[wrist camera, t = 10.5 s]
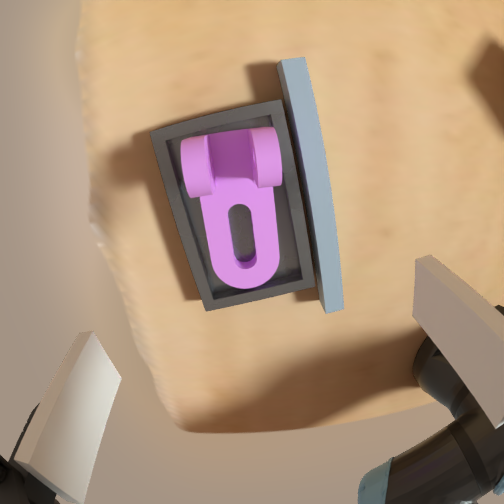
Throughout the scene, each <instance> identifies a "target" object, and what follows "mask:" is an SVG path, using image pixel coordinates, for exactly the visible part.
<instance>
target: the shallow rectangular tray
mask: <svg viewBox="0 0 504 504" xmlns="http://www.w3.org/2000/svg"><path fill="white" fill-rule="evenodd" d="M257 127H274V129H275V131H276V134H277V137H278V142H279V147H280V153H281V162H282V184H281V185H280V186H273V193H274V203H275V212H276V223H277V233H278V243H279V254H280V259H279V265H278V268H277V270H276V272H275V273H274V275H273V276H272V277H271V278H270V279H269V280H268V281H266V282H265V283H263V284H262V285H259V286H257V287H253V288H247V289H243V288H236V287H233V286H230V285H228V284H226V283H225V282H223V281H222V280H221V279H220V278H219V277H218V276H217V274H216V273H215V271H214V269H213V266H212V262H211V257H210V251H209V246H208V241H207V235H206V230H205V224H204V219H203V213H202V208H201V202H200V197H194V198H190V197H189V195H188V192H187V189H186V186H185V182H184V177H183V171H182V163H181V142H182V140H184V139H187V138H190V137H194V136H200V135H206V134H212V133H219V132H225V131H233V130H240V129H248V128H257ZM150 136H151V140H152V143H153V147H154V151H155V154H156V158H157V162H158V165H159V169H160V172H161V176H162V179H163V183H164V186H165V189H166V193H167V196H168V199H169V203H170V206H171V209H172V212H173V216H174V219H175V222H176V225H177V228H178V232H179V235H180V238H181V241H182V244H183V247H184V250H185V253H186V256H187V259H188V262H189V265H190V268H191V271H192V274H193V277H194V279H195V282H196V285H197V288H198V291H199V294H200V296H201V299H202V302H203V305H204V308H205V310H206V311H211V310H215V309H220V308H225V307H230V306H234V305H239V304H243V303H248V302H252V301H257V300H261V299H265V298H270V297H274V296H278V295H283V294H287V293H291V292H295V291H299V290H303V289H307V288H311V287H315V281H314V274H313V267H312V260H311V254H310V247H309V241H308V235H307V228H306V222H305V216H304V211H303V205H302V199H301V194H300V188H299V183H298V177H297V172H296V167H295V162H294V157H293V152H292V147H291V142H290V137H289V132H288V128H287V123H286V118H285V114H284V109H283V105H282V100H281V99H280V100H274V101H269V102H264V103H259V104H254V105H249V106H244V107H240V108H235V109H231V110H226V111H222V112H218V113H214V114H210V115H206V116H202V117H199V118H195V119H191V120H188V121H184V122H181V123H177V124H174V125H171V126H167V127H164V128H161V129H158V130H155V131H152V132H150ZM228 218H229V225H230V231H231V238H232V244H233V250H234V255H235V257H236V259H237V260H239V261H241V262H248V261H250V260H252V259H253V258H254V256H255V253H256V250H255V242H254V234H253V226H252V218H251V211H250V209H249V208H248V207H247V206H246V205H244V204H236V205H233V206H232V207H231V208H230V209H229V211H228Z"/></svg>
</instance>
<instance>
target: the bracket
mask: <svg viewBox="0 0 504 504" xmlns="http://www.w3.org/2000/svg"><path fill="white" fill-rule="evenodd" d="M181 163H182V171H183V177H184V182H185V186H186V189H187V192H188V195H189V197H190V198H194V197H200V202H201V208H202V213H203V219H204V224H205V230H206V235H207V241H208V246H209V251H210V257H211V262H212V266H213V269H214V271H215V273H216V274H217V276H218V277H219V278H220V279H221V280H222V281H223V282H225V283H226V284H228V285H230V286H233V287H236V288H243V289H247V288H253V287H257V286H259V285H262V284H263V283H265V282H266V281H268V280H269V279H270V278H271V277H272V276H273V275H274V273H275V272H276V270H277V268H278V265H279V259H280V254H279V243H278V233H277V223H276V212H275V203H274V193H273V186H280V185H281V184H282V162H281V153H280V147H279V142H278V137H277V134H276V131H275V129H274V127H257V128H248V129H240V130H233V131H225V132H219V133H212V134H206V135H200V136H194V137H190V138H187V139H184V140H182V142H181ZM236 204H244V205H246V206H247V207H248V208H249V209H250V211H251V218H252V226H253V234H254V242H255V250H256V253H255V256H254V258H253V259H252V260H250V261H248V262H241V261H239V260H237V259H236V257H235V255H234V250H233V244H232V238H231V231H230V225H229V218H228V211H229V209H230V208H231V207H232V206H233V205H236Z"/></svg>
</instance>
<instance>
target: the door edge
mask: <svg viewBox="0 0 504 504" xmlns="http://www.w3.org/2000/svg"><path fill="white" fill-rule="evenodd" d="M276 67H277V71H278V75H279V79H280V83H281V87H282V92H283V96H284V100H285V105H286V109H287V114H288V118H289V123H290V128H291V132H292V137H293V142H294V147H295V152H296V157H297V162H298V167H299V173H300V178H301V183H302V189H303V195H304V200H305V206H306V212H307V218H308V224H309V230H310V236H311V243H312V250H313V256H314V263H315V270H316V277H317V285H318V292H319V300H320V302H321V304H322V307H323V309H324V311H325V313H326V314H327V313H331V312H335V311H338V310H342V309H344V301H343V288H342V277H341V266H340V256H339V247H338V238H337V229H336V221H335V214H334V206H333V199H332V192H331V185H330V179H329V173H328V166H327V161H326V155H325V149H324V143H323V138H322V133H321V128H320V122H319V117H318V113H317V108H316V103H315V98H314V94H313V89H312V85H311V81H310V76H309V72H308V68H307V64H306V60H305V57H301V58H293V59H285V60H281V61H280V62H279V63H278V64H277V66H276Z"/></svg>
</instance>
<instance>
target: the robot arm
mask: <svg viewBox="0 0 504 504" xmlns="http://www.w3.org/2000/svg"><path fill="white" fill-rule="evenodd" d="M412 316H413V317H414V318H415V320H416V321H417V322H418V323H419V325H420V326H421V327H422V328H423V329H424V331H425V332H426V333H427V334H428V337H427V339H426V340H425V341H424V343H423V344H422V346H421V348H420V349H419V351H418V353H417V356H416V358H415V361H414V365H413V374H414V377H415V379H416V381H417V382H418V384H419V386H420V387H421V388H422V389H423V390H424V391H425V392H426V393H428V394H429V395H431V396H432V397H433V398H434V399H436V400H437V401H439V402H440V403H441V404H443V405H444V406H446V407H447V408H448V409H449V410H450V412H451V413H452V415H453V417H454V418H455V421H453V422H452V423H450V424H449V425H448V426H446V427H444V428H443V429H441V430H440V431H438V432H437V433H435V434H434V435H432V436H430V437H429V438H427V439H426V440H424V441H422V442H421V443H419V444H417V445H416V446H414V447H412V448H411V449H409V450H407V451H405V452H403V453H402V454H400V455H398V456H396V457H392V458H390V459H389V460H388V461H387V462H386V463H384V464H382V465H380V466H378V467H377V468H374V469H373V470H371V471H369V472H368V473H366V474H365V475H364V477H363V478H362V480H361V482H360V485H359V489H358V504H478V503H477V500H478V499H479V498H481V497H482V496H484V495H485V494H487V493H488V492H489V491H491V490H493V489H494V490H493V493H494V494H497V495H501V494H502V493H504V307H502V306H500V305H497V306H495V307H493V306H492V305H491V304H490V303H489V302H488V301H487V300H486V299H484V298H483V297H482V296H481V295H480V294H479V293H477V292H476V291H475V290H474V289H473V288H472V287H470V286H469V285H468V284H467V283H466V282H464V281H463V280H462V279H461V278H460V277H458V276H457V275H456V274H455V273H453V272H452V271H451V270H450V269H448V268H447V267H446V266H445V265H443V264H442V263H441V262H440V261H438V260H437V259H436V258H434V257H433V256H432V255H428V256H425V257H421V258H418V259H415V287H414V303H413V315H412ZM120 381H121V376H120V375H119V373H118V372H117V370H116V369H115V367H114V365H113V364H112V362H111V361H110V359H109V357H108V356H107V354H106V352H105V351H104V349H103V347H102V345H101V344H100V342H99V341H98V339H97V337H96V335H95V333H94V332H93V331H89V332H82V333H79V335H78V336H77V338H76V339H75V341H74V343H73V344H72V346H71V348H70V349H69V351H68V353H67V355H66V356H65V358H64V360H63V361H62V363H61V365H60V367H59V369H58V370H57V372H56V374H55V376H54V377H53V379H52V381H51V383H50V385H49V387H48V389H47V391H46V393H45V394H44V396H43V398H42V400H41V402H40V403H39V404H38V405H37V406H36V407H35V409H34V410H33V411H32V412H31V414H30V416H29V419H28V421H27V423H26V425H25V427H24V429H23V430H24V431H23V432H22V433H21V435H20V437H19V439H18V441H17V444H16V446H15V448H14V450H13V453H12V455H11V457H10V460H9V461H8V462H7V461H6V460H5V459H4V458H3V457H2V456H1V455H0V504H60V503H59V502H58V501H57V500H56V499H55V497H56V494H58V495H59V496H60V497H62V498H63V499H65V500H66V501H68V502H72V503H76V504H84V500H85V496H86V492H87V488H88V485H89V481H90V477H91V473H92V469H93V466H94V462H95V459H96V455H97V452H98V449H99V445H100V442H101V439H102V435H103V432H104V429H105V426H106V423H107V419H108V416H109V413H110V410H111V407H112V404H113V401H114V398H115V395H116V393H117V389H118V387H119V384H120Z"/></svg>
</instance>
